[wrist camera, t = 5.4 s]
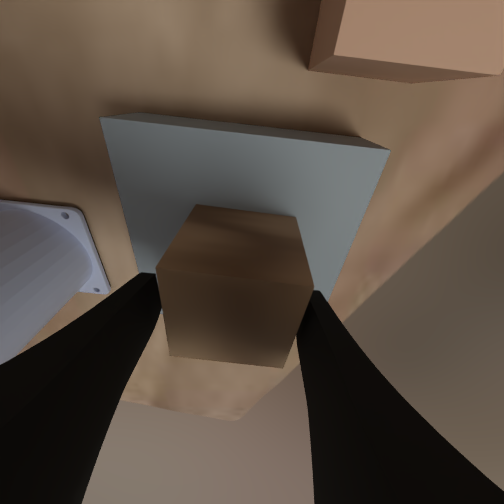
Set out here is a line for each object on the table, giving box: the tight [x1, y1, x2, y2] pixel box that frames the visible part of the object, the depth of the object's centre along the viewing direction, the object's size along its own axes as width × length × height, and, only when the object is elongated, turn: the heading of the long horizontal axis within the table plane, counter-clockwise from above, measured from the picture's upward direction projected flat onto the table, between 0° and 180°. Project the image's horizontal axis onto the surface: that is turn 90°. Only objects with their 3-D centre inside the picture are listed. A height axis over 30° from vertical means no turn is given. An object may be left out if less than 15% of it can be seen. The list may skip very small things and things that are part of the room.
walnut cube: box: [155, 204, 315, 368], centre depth 10 cm, size 5×5×5 cm
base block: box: [99, 112, 391, 314], centre depth 14 cm, size 12×12×4 cm
